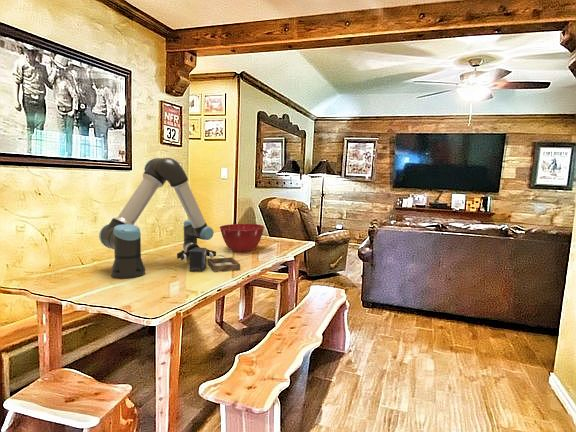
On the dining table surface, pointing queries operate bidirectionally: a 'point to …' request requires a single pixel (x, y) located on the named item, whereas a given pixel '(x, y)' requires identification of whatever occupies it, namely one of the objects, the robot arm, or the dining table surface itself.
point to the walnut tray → (223, 264)
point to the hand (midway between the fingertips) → (199, 257)
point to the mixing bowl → (242, 236)
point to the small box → (197, 259)
